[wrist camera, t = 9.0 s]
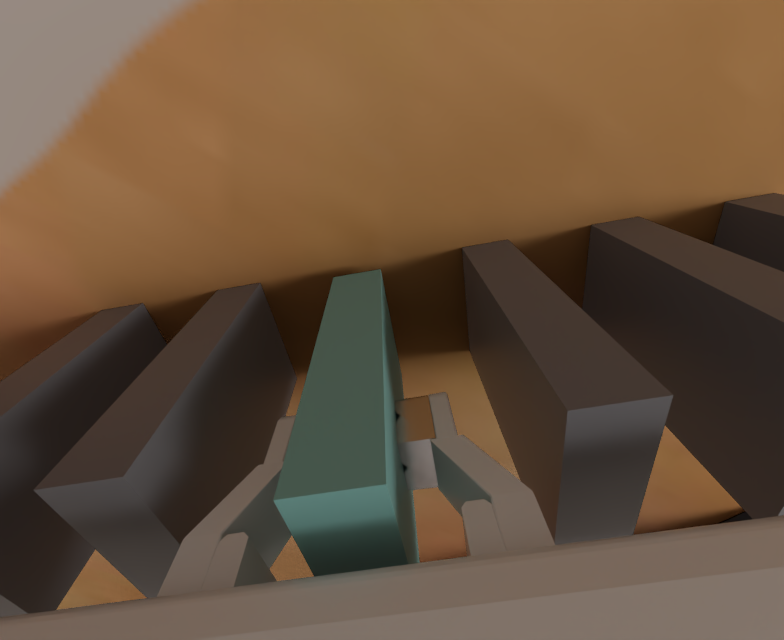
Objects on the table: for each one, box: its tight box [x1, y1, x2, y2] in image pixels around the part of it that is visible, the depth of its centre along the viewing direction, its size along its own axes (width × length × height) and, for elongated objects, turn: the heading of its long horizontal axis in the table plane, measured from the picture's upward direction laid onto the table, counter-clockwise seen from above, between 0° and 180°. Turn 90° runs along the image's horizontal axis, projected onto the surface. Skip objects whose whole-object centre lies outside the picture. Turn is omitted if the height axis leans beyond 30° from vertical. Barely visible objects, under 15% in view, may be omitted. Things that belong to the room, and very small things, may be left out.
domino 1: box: [0, 303, 167, 617], centre depth 12 cm, size 2×5×9 cm, turn 9°
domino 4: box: [462, 240, 673, 545], centre depth 11 cm, size 2×5×9 cm, turn 10°
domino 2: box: [34, 283, 297, 598], centre depth 12 cm, size 2×5×9 cm, turn 10°
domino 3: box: [273, 269, 420, 576], centre depth 11 cm, size 2×5×9 cm, turn 9°
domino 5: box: [582, 217, 784, 519], centre depth 11 cm, size 2×5×9 cm, turn 10°
